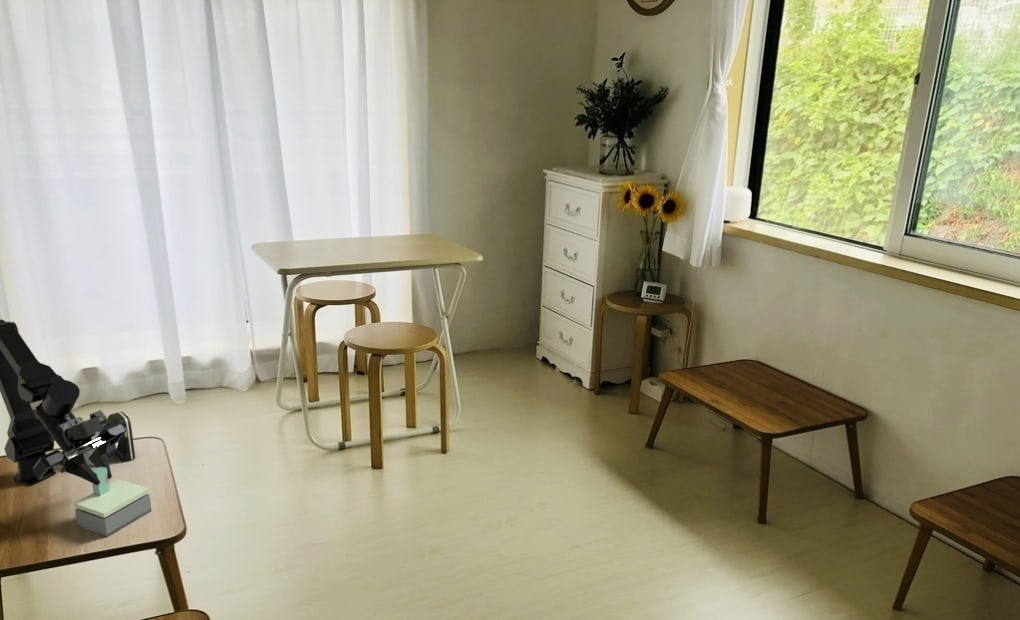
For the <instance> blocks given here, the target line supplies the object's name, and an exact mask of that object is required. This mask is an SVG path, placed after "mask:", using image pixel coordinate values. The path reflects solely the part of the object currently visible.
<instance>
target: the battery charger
mask: <svg viewBox="0 0 1020 620" xmlns="http://www.w3.org/2000/svg"><path fill="white" fill-rule="evenodd" d="M106 418H107V420H108V422H107V424H108V427H109V426H111V425H113V424H116V423H118V424H121V425H123V427H124V428H125V429H126V432H125V434H124V435H123V436H122V437H121V438H120V440H119V441H118V442H117V445H116V451H115V453H114V455H115V456H116V457H117V458H118V459H119V460H120V461H121V462H126V461H132V460H134V459H135V458H136V453H135V444H134V437H133V436H134V435H133V431H132V430H133V429H132V423H131V420H130V417H129V416H128V415H127V414H125V412H123V411H117V412H115V413H111V414H109V415H108V416H107V417H106Z"/></svg>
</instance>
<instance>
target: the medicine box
mask: <svg viewBox="0 0 1020 620" xmlns="http://www.w3.org/2000/svg"><path fill="white" fill-rule="evenodd" d="M102 427H103V429H104V428H107V427H108V424H107V423H106V424H104V425H102ZM100 433H101V431H100V432H99V431H98V432H96V434H95V436H93V437H92V439H94V438H96V437H97V436H98V435H99V434H100ZM86 447H88V446H86ZM86 447H84V448H86ZM116 448H117V443H115V444H114V445H112V446H109V447H107V457H108V458H109V457H111V456H112V455H113V454H115V451H116ZM83 455H84V458H85V462H86V463H87V464H88V466H95V465H94V464H93V463H92V462H91V461H90V460H89V459H88V458H89V457H90V456H91V454H90V453H89V451H87V452H84V453H83ZM110 455H111V456H110ZM95 467H96V466H95Z"/></svg>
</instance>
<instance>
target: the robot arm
mask: <svg viewBox="0 0 1020 620" xmlns="http://www.w3.org/2000/svg"><path fill="white" fill-rule="evenodd" d="M80 390H81V389H80V388H79V386H78V385H77V384H76V383H74V382H72V381H70V380H66V379H65V378H63V376H62V375H59V374H57V373H56V372H55V370H54V369H53V368H52V367H51V366H50V365H47V364H44V363H43V362H42V363H41V362H40V361H39V360H38V359H37V358H36V356H35V355H34V353H33V352H32V350H31V348H29V346H28V345H27V342H26V341H25V340H24V339H23V337H22V336H21V334H20V333H19V328H18V326H17V324H16V323H15V321H6V320H4V319H0V394H1V397H2V400H3V403H4V405H5V407H6V410H7V413H8V416H9V419H10V422H9V425H8V429H7V433H6V434H7V437H8V438H7V441H6V443H5V446H4V452H5V456H6V458H7V459H9V460H11V462H13V463H14V464H15V463H16V464H17V469H18V474H17V475H16V476H13V477H12V479H13V480H12V481H16V482H19V483H20V484H21V483H22V484H25V485H27V486H33V485H35V484H38V483H40V482H41V481H43V480H45V479H48V478H49V477H51V476H53V475H56V473H57V471H56V470H54V469H55V467H56V466H59V465H60V467H61V469H60V471H59V472H60V473H61V474H63V473H68V474H71V475H74V476H76V477H78V478H81V479H83V480H85V481H87V482H89V483H91V484H92V483H93V484H95V485H99V484H100V481H99V479H98V477H97V476H96V475H95V473H94V472H93V471H92V470H93V469H92V468H91V466H90V465H88V464H87V463H86V462H85V458H84V455H83V453H84V452H87V451H89V453H90V454H91V456H90V457H89V458H88V459H89V460H90V461H91V462H92V463H93V464H94V465H95V469H96V468H98V467H100V466H102V467H105V468H107V473H108V479H109V480H110V479H111V478H112V477H113V475H112V471H111V468H110V464H109V460H108V458H107V447H109V446H112V445H114V444H118V441H119V440H120V438H121V437H122V436H123V435H124V434H125V432H126V429H125V428H124V427H123V425H121V424H118V423H116V424H113V425H111V426H109V427H107V428H104V429H103V427H102V425H104V424H106V423H107V422H108V420H107V418H108V417H107V416H106V415H105V413H104V412H103V411H102V410H98V411H95V412H92V413H90V414H89V419H87V420H84V419H83V418H82V417H81V416H78V417H76V416H75V414H74V413H73V409H74V407H75V405H76V403H77V402H78V400H79V399H78V398H79V397H80ZM40 401H42V402H40ZM38 402H40V403H39V404H38V405H37V406H35V407H34V408H35V411H34V410H33V408H32V405H31V404H34V403H38ZM98 431H99V432H100V431H101V433H100V434H99V435H98V436H97V437H96V438H94V439H92V437H93V436H95V434H96V432H98ZM55 442H56V444H57V446H58V447H59V448H60V449H61V450H58V449H56V450H55ZM86 446H88V447H86ZM84 447H86V448H84ZM49 451H51V452H49ZM47 452H49V453H47ZM94 465H93V466H94Z"/></svg>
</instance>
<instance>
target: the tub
mask: <svg viewBox="0 0 1020 620" xmlns="http://www.w3.org/2000/svg"><path fill="white" fill-rule="evenodd" d="M152 510H153V509H152V504H151V497H150V493H147V494H146V495H144V496H142V497H140V498H139V499H137V500H135V501H133V502H132V503H130V504H128V505H126V506H125V507H123V508H121V509H119V510H118V511H116V512H114V513H112V514H110V515H109V516H107V517H105V518H104V517H101V516H98V515H95V514H92V513H89V512H87V511H84V510H81V509H78V508H75V509H74V512H75V519H76V523H77V524H76V525H77V527H79V528H81V529H85V530H87V531H90V532H93V533H95V534H98V535H101V536H103V537H106V536H107V537H106V538H108V537H110V536H111V535H113V534H115V533H116V532H119V531H120V530H122V529H123V528H125V527H127V526H128V525H130V524H132V523H134V522H136V521H137V520H138V519H140V518H142V517H144V516H145V515H148V514H149V513H150V512H152ZM109 535H110V536H109Z"/></svg>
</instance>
